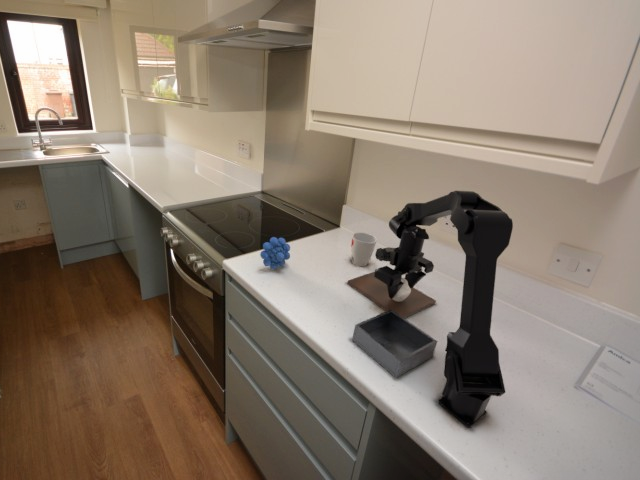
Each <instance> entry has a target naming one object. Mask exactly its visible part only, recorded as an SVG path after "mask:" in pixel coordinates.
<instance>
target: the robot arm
mask: <svg viewBox="0 0 640 480" xmlns="http://www.w3.org/2000/svg"><path fill="white" fill-rule="evenodd" d="M448 216H449V217H450V218H449V220H450V222H451V224H453V226H454V227H455V229H456V230H457V242H458V244H459V245H460V247H461V249H462V251H463V252H464V255H465V264H464V273H463V286H462V296H461V306H460V307H461V309H460V318H459V327H458V328H457V329H456V331H449V332H448V333H447V335H446V346H445V349H444V351H445V356H444V357H445V358H444V369H443V376H444V378H445V383H444V387H443V389H442V392H441V396H442V397H440V398H439V399H438V401H437V403H438V405H440V406H441V407H442V408H444V409H445V410H446V411H447V412H449V413H450V414H451V415H452V416H453V417H454V418H455V419H457V420H458V421H459V422H461V423H462V425H464V426H466V427H467V428H469V429H470V428H472V427H473V426H475V424H476V423H478V422H479V421H480V420H481V419H482V418H484V417H485V416H486V415H487V413H488V411H487V410H486V408H487V406H488V404H489V402H490V399H491V397H493V396H494V397H495V396H496V397H501V396H503V395H504V394H505V393H506V388H505V383H504V379H503V378H504V377H503V374H502V369H501V365H500V351H499V347H498V346H497V344H496V342H495V341H494V339H493V337H492V335H491V327H492V316H493V307H494V306H493V305H494V297H495V286H496V277H497V276H496V275H497V265H498V264H497V263H498V259H499V257H500V256H501V255H502V254H503V253H504V251H506V249H507V248H508V247H509V245H510V242H511V238H512V233H513V228H514V222H513V219H512V218H511V217H510V216H509V214H508V213H506V212H505V211H503V210H502V208H500V206H497V205H495V204H494V203H492V202H490V201H488V200H486V199H484V198H483V197H482V196H481V195H480V194H479V193H477V192H475V191H471V190H469V191H468V190H453V191H450V192H449V193H448V194H445V195H443V196H439V197H438V198H434V199H432V200H429V201H426V202H408V203H406V204H405V205H404V207H403V208H402V209H401V210H400V211H398V212H397V214H396V215H394V216H393V217H391V219H390V220H389V222H388V227H389V229H390V230H391V232H392V233H393V234H394V235H395V236H396V237H397V238H398V239H399V245H398V247H397V246H396V247H390V246H389V247H383V248H382V247H380V248H376V251H375V254H374V255H375V259H376V260H378V261H379V262H389V265H391V266H394V268H391V267H390V266H388V265H384V266H381V267H379V268H376V269H375V270H374V272H375V273H374V277H375V278H377V279H379V280H380V281H382V282H383V283H385V284H387V288H388V294H389V297H390V298H391V299H393V298H394V296H395V295H396V294H397V292H398V291H399V289H400V288H401V287H402V285H403V284H404V283H403V282H401V279H402V278H403V276H404V278H405V279H406V280H407V281H408V285H409V287H410V289H411V288H412V287H413V288H414V287H415V286H416V285H417V284H418V283H419V282H420V281H421V280H422V279H424V277H426V276H427V274H429V273H432V272H433V271H434V268H435V265H434V263H433V261H432V260H430V259H428V258H425V257H424V255H425V253H424V252H422V250H423V246H424V243H425V240H429V239H430V235H429V233H428V232H427V230H426V228H422V227H420V226H423V227H424V226H425V227H431V226H432V225H434V224H436V223H438V219H440V218H444V217H448ZM422 268H424V269H422ZM423 270H424V271H423Z"/></svg>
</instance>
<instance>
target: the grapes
mask: <svg viewBox="0 0 640 480" xmlns="http://www.w3.org/2000/svg"><path fill="white" fill-rule="evenodd" d="M262 248H263V250H261V252H260V254H259V255H260V258H261V259H262V263H263V266H265V267H270V269H272V270H276V269H278V267H280V268H281V267H282V268H283V267H284V266H285V265H286V261H288V260H289V259H290V258H291V254H290V250H291V246H290V244H289V243H286V239H285V238H284V237H279V238H277V237H276V236H272V237H270V239H269V242H268V241H266V242H263V244H262Z"/></svg>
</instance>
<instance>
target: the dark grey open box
mask: <svg viewBox="0 0 640 480" xmlns="http://www.w3.org/2000/svg"><path fill="white" fill-rule="evenodd" d="M351 339H352V340H351V341H352V342H353V343H355V344H356V345H357V346H358V347H359V348H361V350H362V351H364V352H365V353H366V354H368V356H370V357H371V358H372V359H373V360H374V361H375V362H376V363H378V364H379V365H380V366H381V367H382V368H384V369H385V370H386V371H387V372H388V373H389V374H391V375H392V376H393V377H394V378H395V379H397V378H399V377H401V376H402V375H405V373H407V372H409V371H411V370H413V369H414V368H416V367H418V366H420V365H421V364H423V363H424V362H426V361H428V360H429V359H431V358H433V356H434V354H435V351H436V349H437V348H436V347H437V344H438V340H437V339H435V338H434V337H432V336H431V335H429V334H428V333H426V332H425V331H423V330H422V329H421V328H419V327H418V326H416V325H414V323H412V322H410V321H409V320H407V319H406V318H403V317H401V316H400V315H398V314H397V313H396V312H394V311H393V310H389V311H384V312H381V313H379V314H377V315H375V316H373V317H370V318H368V319H366V320H363V321H361V322H358V323H357V324H354V328H353V334H352V338H351Z"/></svg>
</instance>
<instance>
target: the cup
mask: <svg viewBox="0 0 640 480" xmlns="http://www.w3.org/2000/svg"><path fill="white" fill-rule="evenodd" d="M377 241H378V239H377V237H376V236H374V235H373V234H370V233H366V232H354V233H353V234H352V237H351V244H350V247H351V248H350V256H351V262H352V264H354V265H355V266H357V267H365V266H367V264H368V263H369V261H370V260H371V258H372V256H373V253H374V251H375V247H376V244H377Z"/></svg>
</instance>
